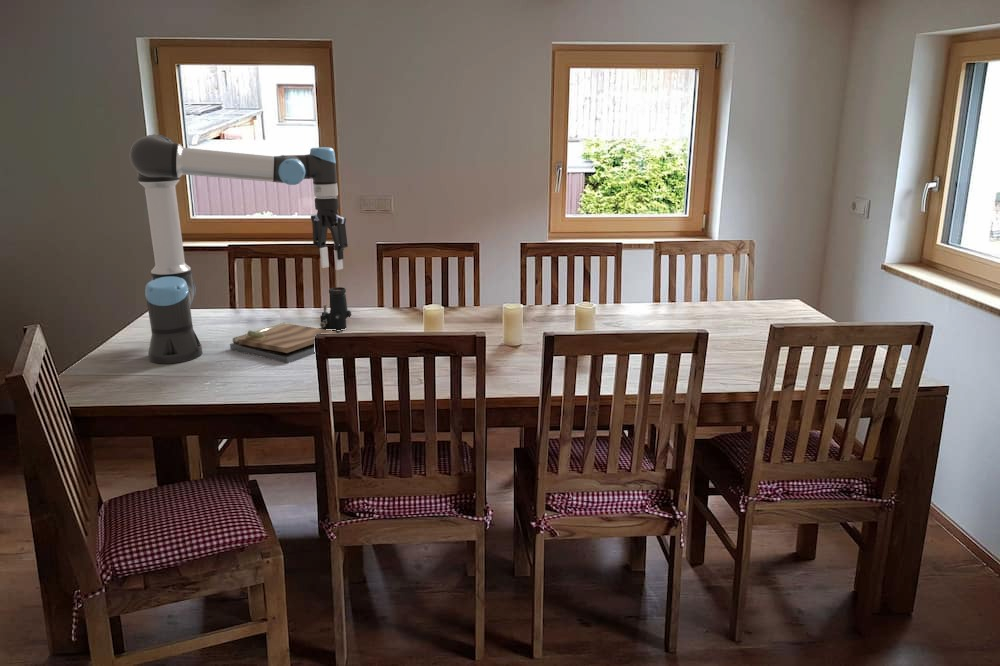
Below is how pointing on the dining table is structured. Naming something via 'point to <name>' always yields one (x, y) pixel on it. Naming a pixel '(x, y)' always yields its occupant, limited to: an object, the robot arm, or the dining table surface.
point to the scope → (335, 310)
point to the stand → (271, 353)
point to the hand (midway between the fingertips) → (332, 268)
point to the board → (283, 338)
